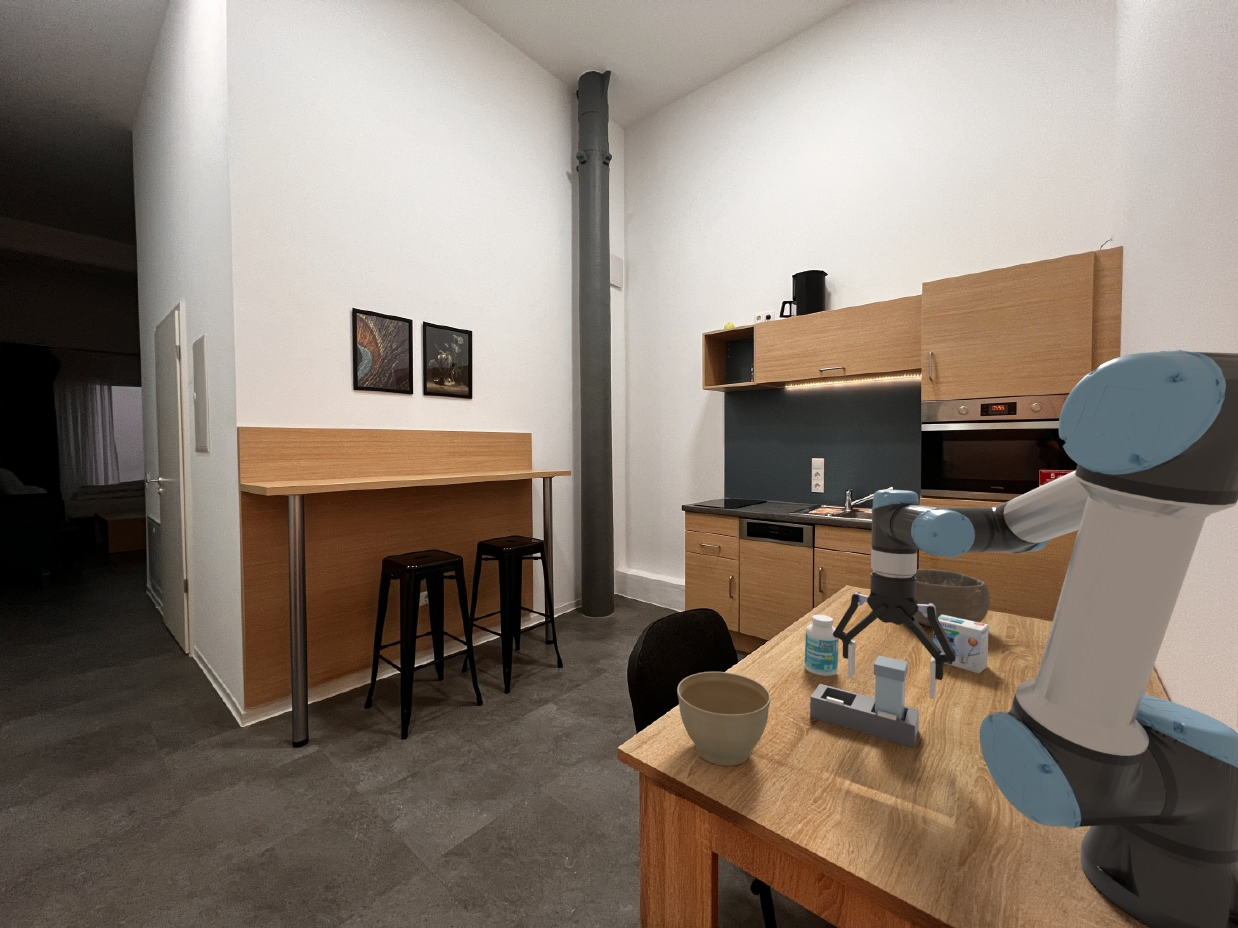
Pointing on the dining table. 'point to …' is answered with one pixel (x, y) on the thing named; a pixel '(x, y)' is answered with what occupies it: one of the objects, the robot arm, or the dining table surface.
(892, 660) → the plug
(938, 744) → the dining table surface
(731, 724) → the planter bowl
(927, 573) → the bowl
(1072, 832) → the dining table surface
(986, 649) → the light bulb box
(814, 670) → the pill bottle
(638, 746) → the dining table surface
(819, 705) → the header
